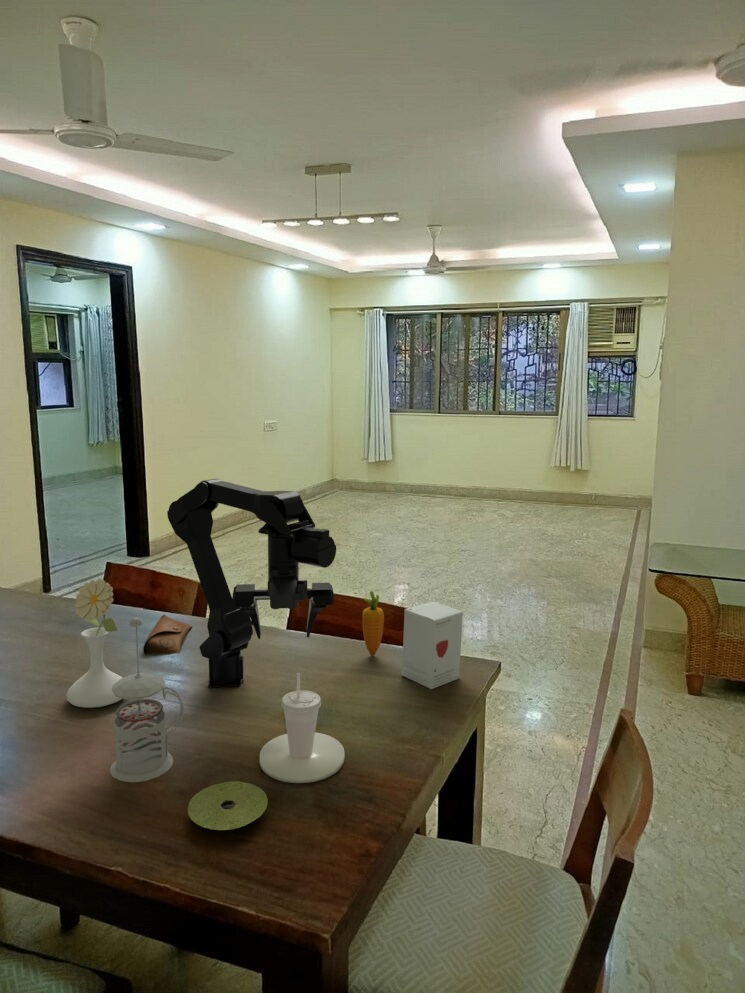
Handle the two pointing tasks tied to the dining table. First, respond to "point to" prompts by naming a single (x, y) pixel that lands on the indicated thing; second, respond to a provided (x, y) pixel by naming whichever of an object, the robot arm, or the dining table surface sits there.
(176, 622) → the sunglasses case
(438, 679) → the supplement box
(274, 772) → the plate
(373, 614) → the carrot
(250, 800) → the green disc
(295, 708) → the smoothie
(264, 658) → the dining table surface
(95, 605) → the flower in vase
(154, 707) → the french press
